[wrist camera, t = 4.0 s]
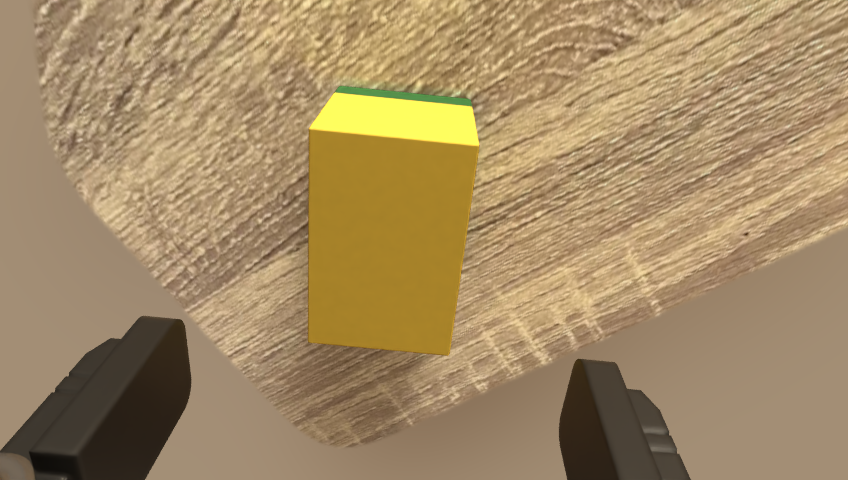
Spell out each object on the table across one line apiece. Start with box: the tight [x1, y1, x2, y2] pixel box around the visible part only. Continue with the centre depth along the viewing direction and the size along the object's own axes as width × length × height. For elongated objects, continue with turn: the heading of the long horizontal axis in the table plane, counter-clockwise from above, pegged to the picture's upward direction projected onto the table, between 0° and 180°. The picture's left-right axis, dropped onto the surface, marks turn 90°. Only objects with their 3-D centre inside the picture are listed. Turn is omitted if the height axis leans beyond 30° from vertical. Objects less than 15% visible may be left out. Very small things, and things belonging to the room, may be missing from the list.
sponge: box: [308, 86, 479, 356], centre depth 19 cm, size 4×7×5 cm, turn 174°
